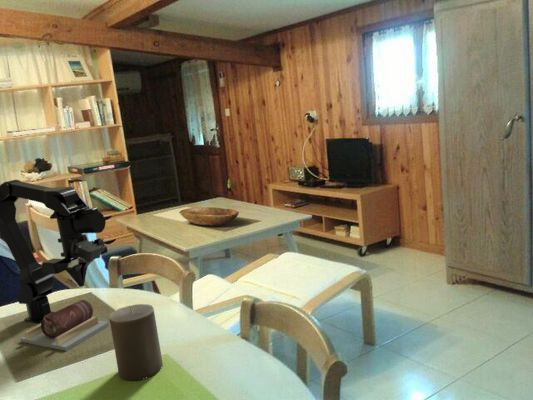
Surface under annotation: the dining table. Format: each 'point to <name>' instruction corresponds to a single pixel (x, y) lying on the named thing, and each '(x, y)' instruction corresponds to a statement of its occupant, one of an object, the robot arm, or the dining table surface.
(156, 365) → the pillar candle
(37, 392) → the dining table surface
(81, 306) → the can
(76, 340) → the tray
